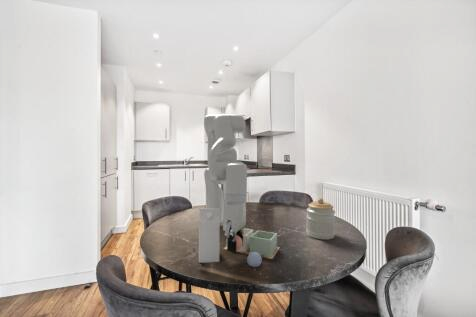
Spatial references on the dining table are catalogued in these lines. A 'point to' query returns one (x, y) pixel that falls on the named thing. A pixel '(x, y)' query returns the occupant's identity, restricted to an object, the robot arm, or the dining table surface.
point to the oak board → (260, 255)
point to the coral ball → (238, 242)
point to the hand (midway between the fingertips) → (235, 247)
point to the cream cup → (245, 239)
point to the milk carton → (209, 234)
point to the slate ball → (254, 259)
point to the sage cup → (263, 243)
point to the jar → (320, 220)
